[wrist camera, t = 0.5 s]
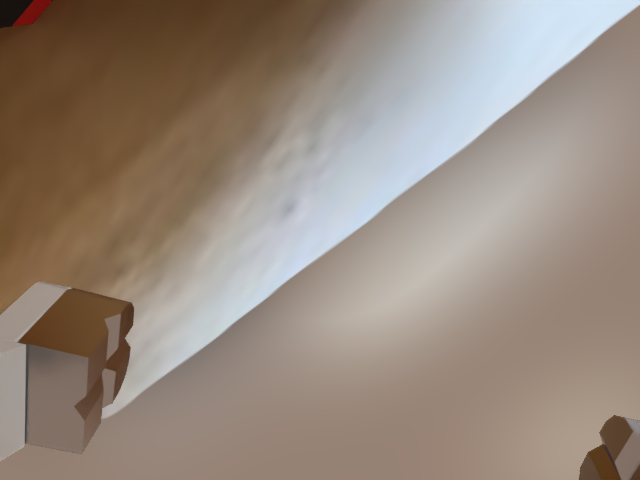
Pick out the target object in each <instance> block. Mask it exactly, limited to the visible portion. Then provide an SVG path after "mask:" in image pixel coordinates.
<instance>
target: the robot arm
mask: <svg viewBox="0 0 640 480" xmlns="http://www.w3.org/2000/svg"><path fill="white" fill-rule="evenodd" d="M133 318H134V307H133V304H132V303H131V302H127V301H123V300H119V299H115V298H111V297H107V296H103V295H99V294H95V293H91V292H87V291H83V290H79V289H75V288H70V287H67V286H63V285H59V284H54V283H50V282H46V281H40V282H36V283H34V284H33V285H32V286H31V287H30V288H29V289H28V290H26V291H25V292H24V293H23V294H22V295H21V296H20V297H19V298H18V299H17V300H16V301H14V302H13V303H12V304H11V305H10V306H9V307H8V308H7V309H6V310H5V311H4V312H3V313H1V314H0V461H2V460H3V459H5V458H7V457H8V456H10V455H12V454H13V453H15V452H17V451H18V450H20V449H21V448H23V447H24V446H25V444H31V445H36V446H41V447H46V448H52V449H57V450H62V451H67V452H72V453H77V454H82V453H83V452H84V450H85V448H86V447H87V445H88V443H89V442H90V440H91V438H92V437H93V435H94V433H95V432H96V430H97V428H98V427H99V425H100V423H101V416H102V408H104V407H106V406H108V405H110V404H112V403H113V401H114V399H115V398H116V396H117V394H118V392H119V391H120V388H121V385H122V383H123V380H124V378H125V375H126V371H127V367H128V363H129V357H130V349H131V347H130V346H129V344H128V342H127V341H126V339H125V337H126V335H127V334H128V332H129V331H130V329H131V328H132V326H133ZM600 437H601V440H602V445H600V446H599V447H597V448H595V449H593V450H591V451H589V452H588V453H587V455H586V457H585V459H584V461H583V463H582V465H581V467H580V475H579V480H640V421H639V420H634V419H629V418H625V417H620V416H616V415H614V416H613V417H611V418H610V419H609V420H607V421H606V422H605V424H604V426H603V427H602V429H601V431H600Z"/></svg>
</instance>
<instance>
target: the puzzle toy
mask: <svg viewBox="0 0 640 480" xmlns="http://www.w3.org/2000/svg"><path fill="white" fill-rule="evenodd" d="M51 2H52V0H0V28H2V27H10V26H18V25H26V24H33V23H34V22H35V20H36V19H37V18H38V17H39V16H40V15H41V13H42V12H43V11H44V10H45V9H46V7H47V6H48V5H49V4H50V3H51Z"/></svg>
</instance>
